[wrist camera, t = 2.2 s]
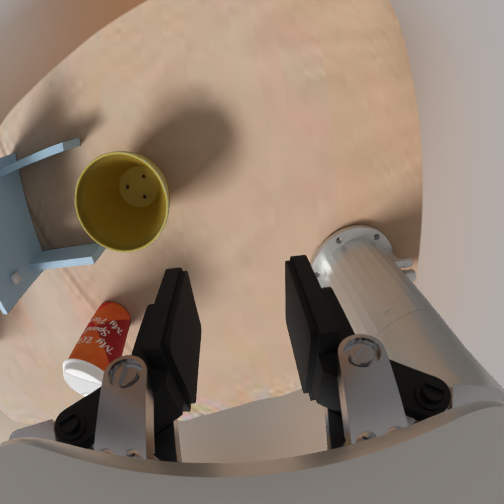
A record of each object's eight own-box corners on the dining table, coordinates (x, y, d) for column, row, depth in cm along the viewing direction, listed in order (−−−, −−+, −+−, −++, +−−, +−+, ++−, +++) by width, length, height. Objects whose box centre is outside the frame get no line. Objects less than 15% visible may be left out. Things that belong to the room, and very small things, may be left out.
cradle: (77, 126, 25) (13, 140, 14) (109, 258, 34) (71, 316, 23) (10, 154, 25) (-48, 180, 14) (43, 265, 33) (3, 314, 23)
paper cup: (129, 295, 37) (98, 370, 24) (142, 333, 40) (122, 406, 28) (86, 295, 36) (48, 362, 24) (101, 331, 40) (75, 398, 28)
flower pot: (155, 126, 26) (133, 130, 20) (197, 201, 31) (188, 224, 25) (89, 172, 28) (58, 188, 22) (130, 238, 32) (110, 267, 26)
